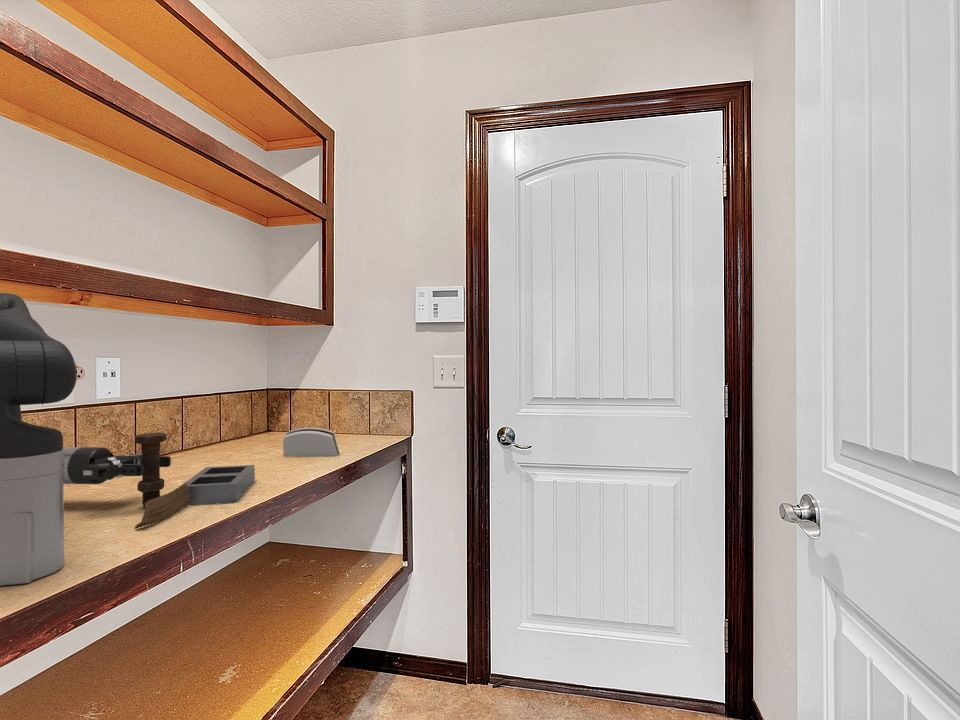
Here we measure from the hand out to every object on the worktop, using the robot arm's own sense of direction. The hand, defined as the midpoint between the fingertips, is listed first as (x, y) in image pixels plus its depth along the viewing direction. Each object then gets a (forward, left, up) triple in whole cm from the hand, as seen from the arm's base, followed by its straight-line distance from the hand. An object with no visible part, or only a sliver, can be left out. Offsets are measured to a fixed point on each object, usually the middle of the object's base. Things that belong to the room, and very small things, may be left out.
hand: (156, 465), depth 108 cm
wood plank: (-8, -4, -9) cm, 13 cm away
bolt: (0, +1, -9) cm, 9 cm away
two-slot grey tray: (+9, -10, -9) cm, 16 cm away
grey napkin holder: (+51, -26, -9) cm, 58 cm away
